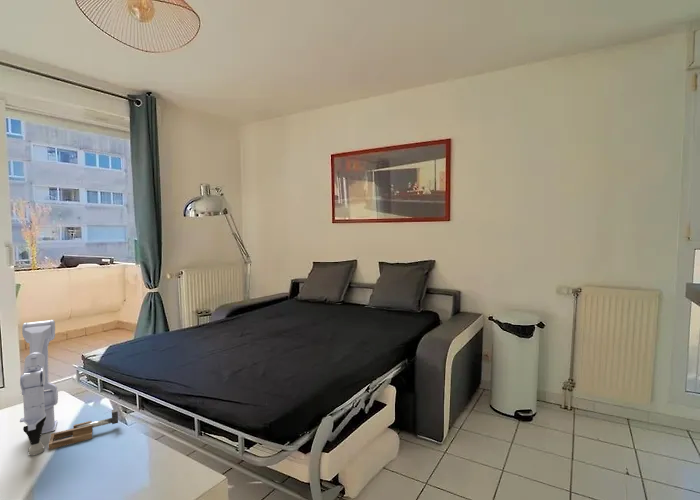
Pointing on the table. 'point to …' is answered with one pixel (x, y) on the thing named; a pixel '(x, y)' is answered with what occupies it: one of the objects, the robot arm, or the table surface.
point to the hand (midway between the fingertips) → (36, 441)
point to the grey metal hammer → (104, 422)
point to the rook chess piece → (36, 448)
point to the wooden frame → (77, 433)
